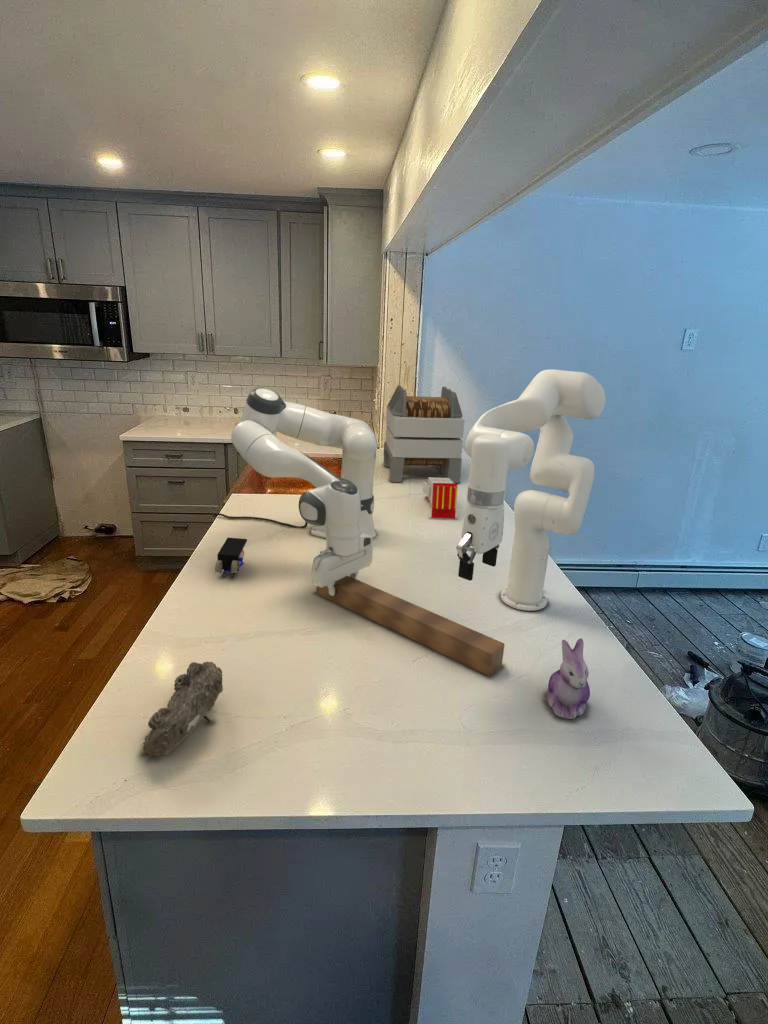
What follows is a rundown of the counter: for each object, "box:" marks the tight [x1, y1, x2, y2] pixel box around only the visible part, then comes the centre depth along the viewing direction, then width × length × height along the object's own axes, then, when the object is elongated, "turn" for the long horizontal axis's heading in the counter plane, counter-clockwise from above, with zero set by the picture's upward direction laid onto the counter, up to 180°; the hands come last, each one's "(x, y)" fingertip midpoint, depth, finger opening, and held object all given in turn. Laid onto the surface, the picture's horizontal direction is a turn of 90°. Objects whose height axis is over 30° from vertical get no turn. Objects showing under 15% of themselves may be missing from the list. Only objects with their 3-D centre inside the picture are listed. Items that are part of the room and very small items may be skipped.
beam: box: [315, 575, 505, 677], centre depth 141 cm, size 54×6×6 cm, turn 50°
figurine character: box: [214, 537, 248, 578], centre depth 166 cm, size 7×8×15 cm
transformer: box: [383, 384, 465, 484], centre depth 268 cm, size 34×33×41 cm
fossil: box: [142, 661, 224, 757], centre depth 105 cm, size 22×10×15 cm
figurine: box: [546, 637, 591, 720], centre depth 113 cm, size 9×10×15 cm
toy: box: [422, 476, 458, 519], centre depth 227 cm, size 12×13×30 cm
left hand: (342, 590), depth 153 cm, fingers closed on beam, 5 cm apart
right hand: (477, 571), depth 123 cm, fingers open, 9 cm apart
